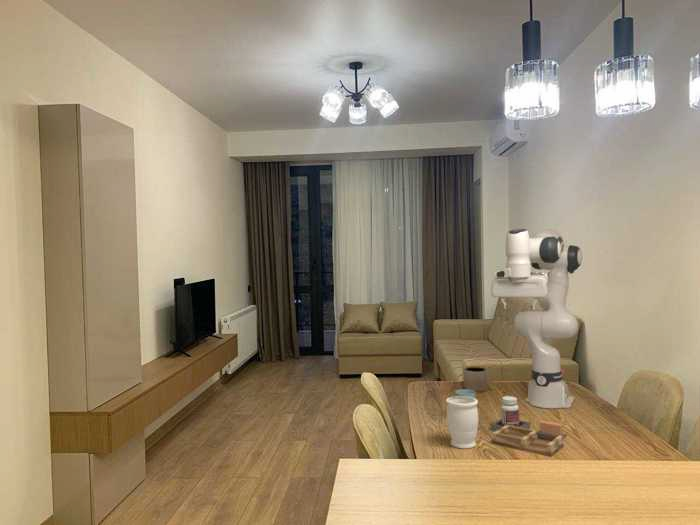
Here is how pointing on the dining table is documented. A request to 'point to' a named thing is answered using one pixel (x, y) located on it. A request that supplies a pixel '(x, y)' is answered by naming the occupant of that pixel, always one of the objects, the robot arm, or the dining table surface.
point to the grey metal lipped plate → (548, 436)
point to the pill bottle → (510, 411)
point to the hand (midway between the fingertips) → (519, 309)
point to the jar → (462, 421)
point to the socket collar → (498, 425)
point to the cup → (465, 393)
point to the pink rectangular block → (551, 428)
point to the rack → (526, 440)
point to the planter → (475, 379)
